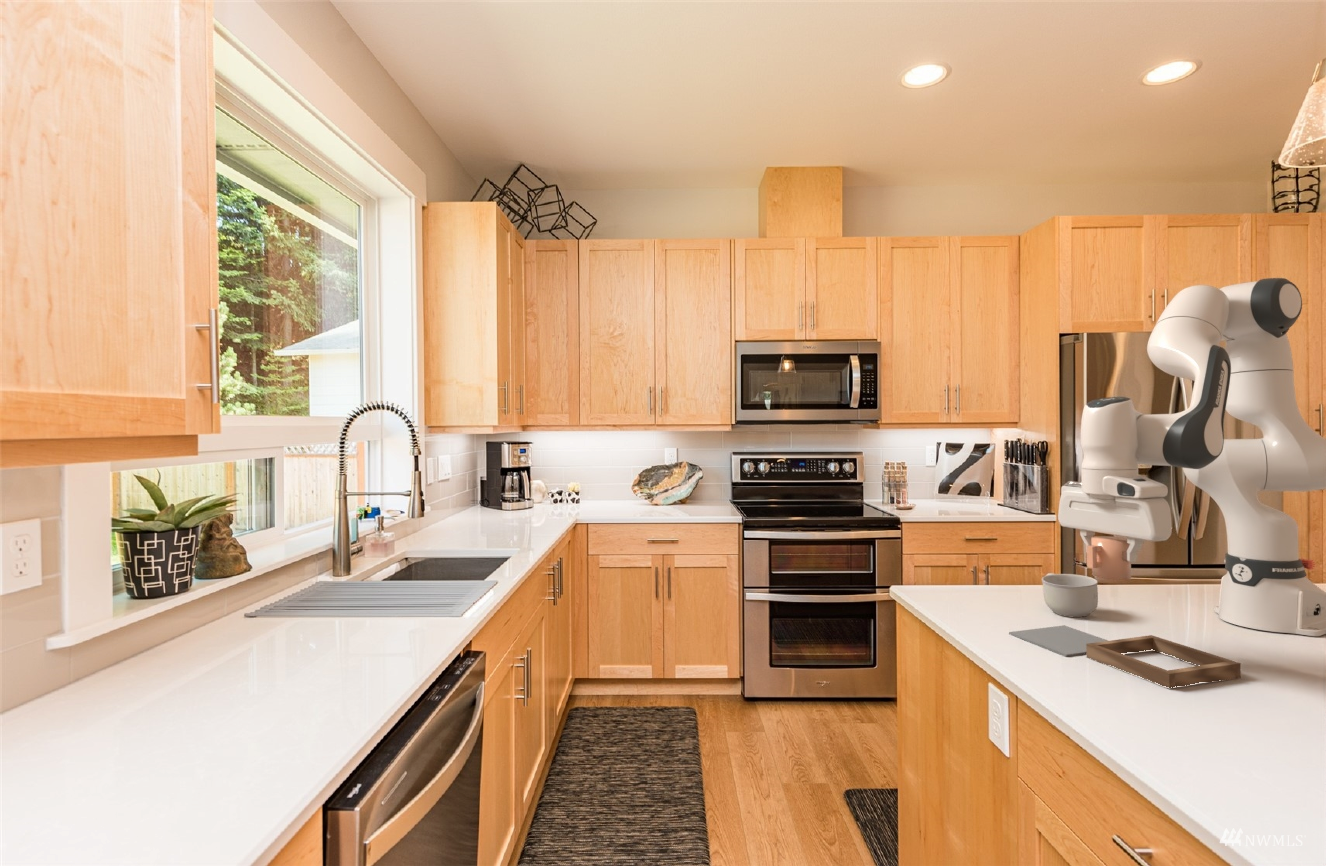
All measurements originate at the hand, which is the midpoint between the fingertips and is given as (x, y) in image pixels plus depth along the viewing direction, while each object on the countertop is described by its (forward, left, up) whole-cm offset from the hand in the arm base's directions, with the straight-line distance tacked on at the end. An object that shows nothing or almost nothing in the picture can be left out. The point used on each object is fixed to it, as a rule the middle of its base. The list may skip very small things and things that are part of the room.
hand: (1111, 557), depth 121 cm
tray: (-2, +7, -18) cm, 20 cm away
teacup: (-15, -25, -18) cm, 34 cm away
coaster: (+2, -9, -18) cm, 20 cm away
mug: (0, 0, -3) cm, 3 cm away
